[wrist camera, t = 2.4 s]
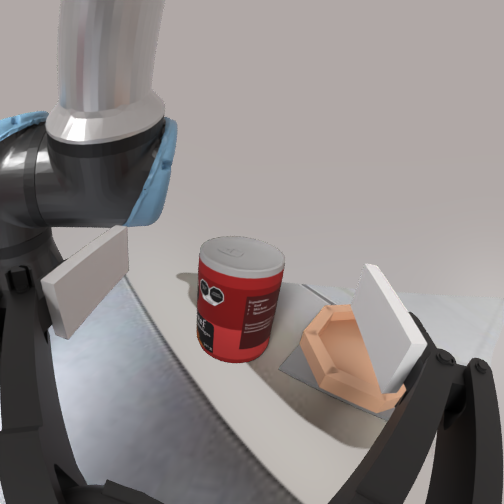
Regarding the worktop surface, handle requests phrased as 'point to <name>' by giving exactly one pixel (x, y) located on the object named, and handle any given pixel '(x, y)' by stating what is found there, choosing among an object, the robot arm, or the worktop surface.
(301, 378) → the mat
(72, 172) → the robot arm
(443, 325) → the worktop surface
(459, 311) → the worktop surface
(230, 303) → the canned food
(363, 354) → the bowl
